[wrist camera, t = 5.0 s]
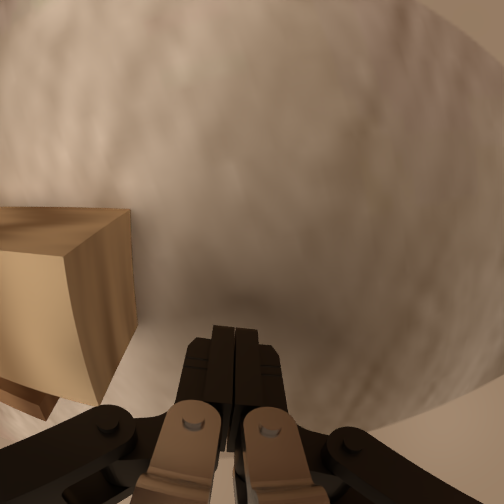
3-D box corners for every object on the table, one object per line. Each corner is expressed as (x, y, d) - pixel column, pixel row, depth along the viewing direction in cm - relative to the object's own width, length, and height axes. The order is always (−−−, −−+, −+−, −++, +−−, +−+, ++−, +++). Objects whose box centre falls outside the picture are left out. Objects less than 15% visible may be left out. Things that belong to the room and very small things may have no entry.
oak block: (131, 208, 13) (63, 256, 7) (138, 323, 15) (99, 407, 10) (-6, 206, 13) (-82, 240, 7) (11, 302, 15) (-46, 356, 9)
